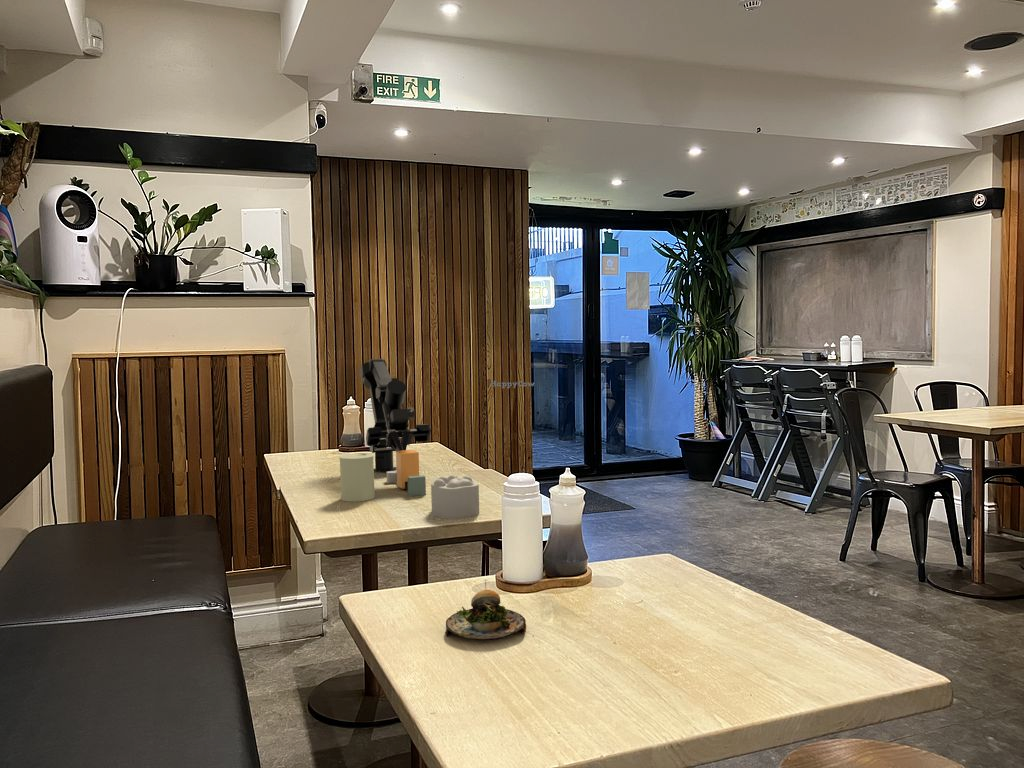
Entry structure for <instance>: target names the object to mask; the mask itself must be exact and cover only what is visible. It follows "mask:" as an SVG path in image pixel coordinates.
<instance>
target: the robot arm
mask: <svg viewBox="0 0 1024 768" xmlns="http://www.w3.org/2000/svg"><path fill="white" fill-rule="evenodd" d="M359 377H360V378H361V379H362V383H363V386H364V387H365V388H367V389H368V390H369V395H370V400H371V406H372V407H371V408H372V413H373V414H372V415H373V420H374V426H372V427H368V428H367V429H366V434H365V435H366V437H365V442H366V446H368V447H369V451H370V452H371V454H374V466H375V467H374V472H385V473H386V472H388V471H396V466H394V452H396V451H402V450H407V446H410V445H411V443H412V439H413V437H414V441H415V442H416V443H426V442H428V441H429V439H430V435H431V431H432V429H431V425H430V424H429V423H422V424H421V423H420V424H416V425H415V428H410V429H408V428H409V426H410V424H409V421H410V420H414V419H415V416H416V414H415V412H416V411H415V409H414V407H407V408H403V407H402V405H403V404H404V403H405V397H406V392H407V385H406V384H405V383H404V382H403V381H402V380H399V378H398V377H391V374H390V372H389V370H388V365H387V362H386V360H385V359H383V358H371V359H369V360H368V361H366V362H364V363H362V364H361V366H360V368H359Z"/></svg>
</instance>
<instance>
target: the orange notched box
mask: <svg viewBox="0 0 1024 768" xmlns="http://www.w3.org/2000/svg"><path fill="white" fill-rule="evenodd" d="M395 463H396V465H395V467H396V469H395V471H397V483H396V486H397V487H399V488H400V489H403V490H405V482H407V481H408V476H419V475H420V455H419V451H417V450H415V449H406V450H402V451H395Z"/></svg>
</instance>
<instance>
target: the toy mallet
mask: <svg viewBox="0 0 1024 768" xmlns="http://www.w3.org/2000/svg"><path fill="white" fill-rule="evenodd" d="M385 473H386V483H388V484H395V483H396V484H397V470H392V471H388V472H385ZM426 479H427V478H426V476H425V475H422V474H421V475H420V474H419V476H408V481H407V482H405V488H404V490H406V491H407V495H408V496H409V497H416V496H426V495H427V488H426V487H427V484H426Z"/></svg>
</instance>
